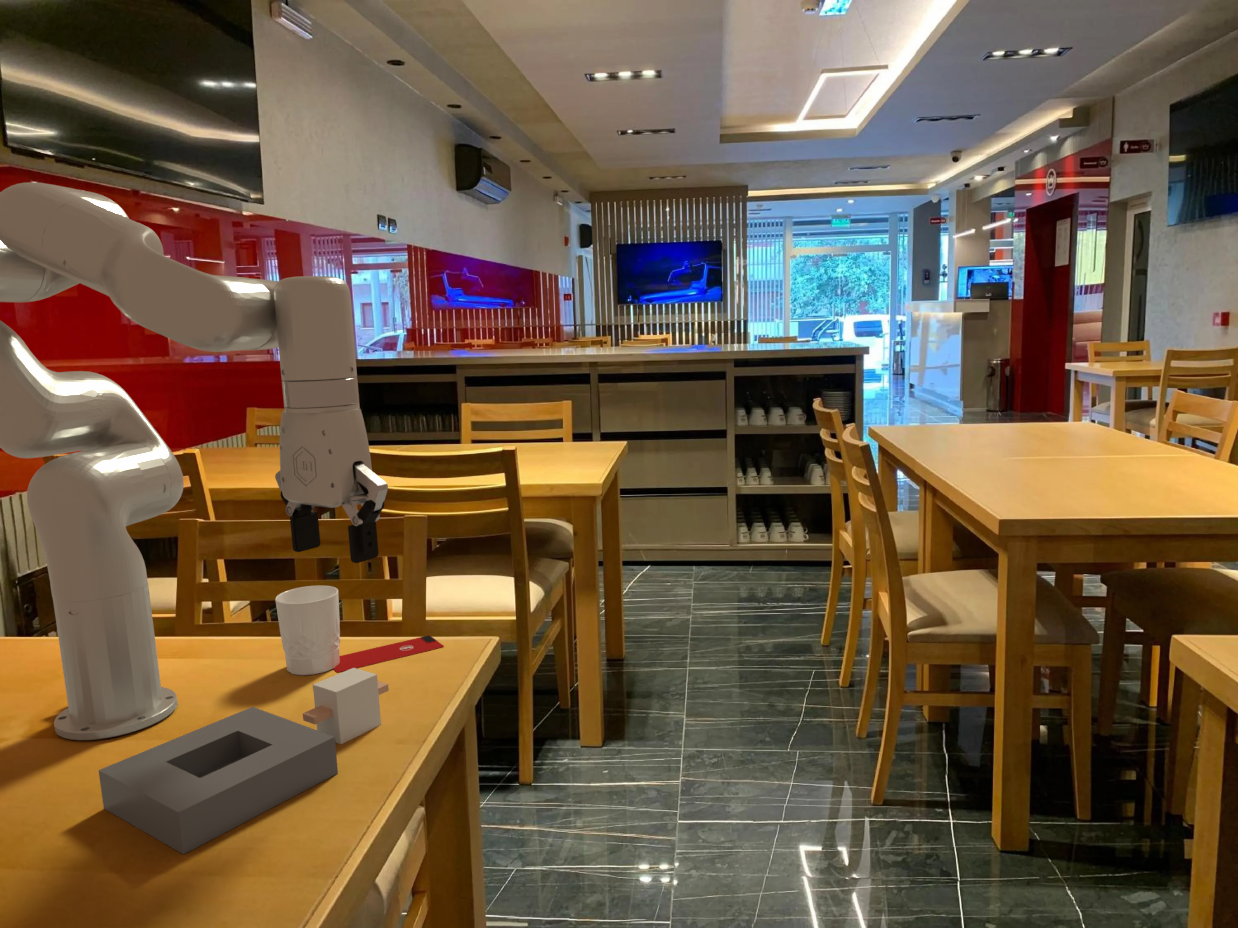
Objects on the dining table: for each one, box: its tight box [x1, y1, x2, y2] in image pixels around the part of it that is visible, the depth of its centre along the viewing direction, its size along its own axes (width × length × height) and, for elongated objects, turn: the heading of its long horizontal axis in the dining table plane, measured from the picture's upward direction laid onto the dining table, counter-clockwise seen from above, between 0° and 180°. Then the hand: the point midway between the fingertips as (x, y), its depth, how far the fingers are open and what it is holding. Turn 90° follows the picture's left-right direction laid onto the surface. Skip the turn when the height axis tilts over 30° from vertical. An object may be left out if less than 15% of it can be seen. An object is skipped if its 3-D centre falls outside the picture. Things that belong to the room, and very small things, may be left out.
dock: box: [98, 706, 339, 855], centre depth 85 cm, size 14×16×4 cm
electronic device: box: [332, 634, 445, 674], centre depth 120 cm, size 6×1×15 cm
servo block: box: [302, 668, 390, 745], centre depth 97 cm, size 4×10×6 cm, turn 145°
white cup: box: [274, 585, 341, 676], centre depth 116 cm, size 8×8×10 cm
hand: (335, 554), depth 94 cm, fingers open, 9 cm apart
